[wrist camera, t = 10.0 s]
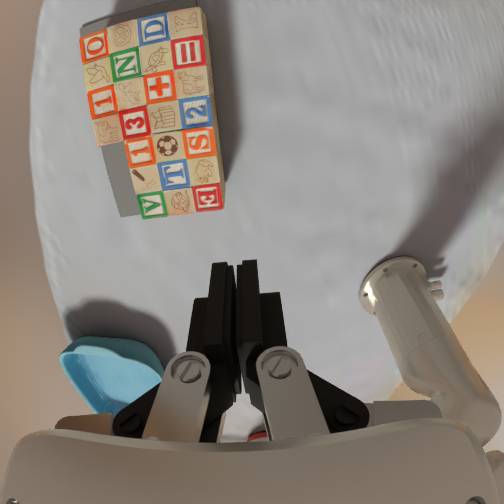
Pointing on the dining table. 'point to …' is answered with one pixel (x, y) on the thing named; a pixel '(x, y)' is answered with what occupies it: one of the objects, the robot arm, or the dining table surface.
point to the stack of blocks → (159, 108)
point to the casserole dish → (110, 371)
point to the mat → (116, 151)
